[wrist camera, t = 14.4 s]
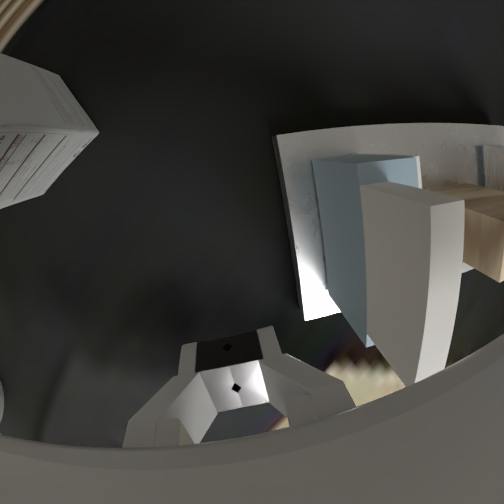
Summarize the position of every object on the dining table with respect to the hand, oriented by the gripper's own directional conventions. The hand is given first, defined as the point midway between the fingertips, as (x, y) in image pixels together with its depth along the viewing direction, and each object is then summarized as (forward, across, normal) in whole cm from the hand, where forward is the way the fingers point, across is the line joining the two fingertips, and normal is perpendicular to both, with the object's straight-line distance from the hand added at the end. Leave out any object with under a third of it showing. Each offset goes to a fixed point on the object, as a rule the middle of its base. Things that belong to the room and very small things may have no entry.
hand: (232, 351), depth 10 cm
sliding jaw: (+11, -9, 0) cm, 14 cm away
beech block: (+11, -18, +1) cm, 21 cm away
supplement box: (+14, +12, -12) cm, 22 cm away
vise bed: (+13, -17, +1) cm, 22 cm away
